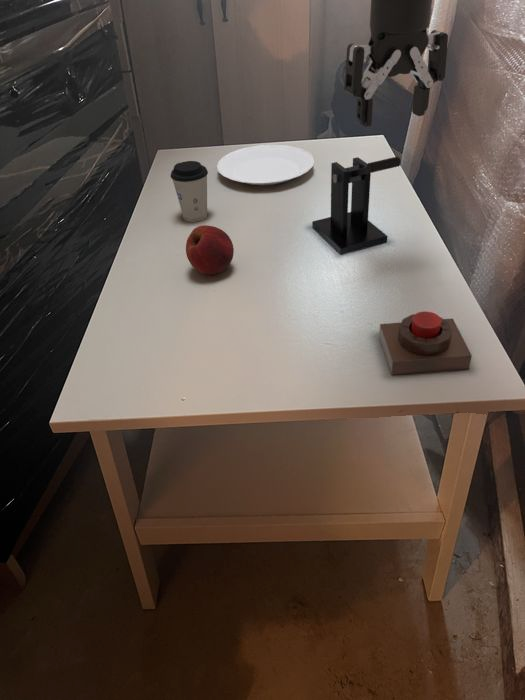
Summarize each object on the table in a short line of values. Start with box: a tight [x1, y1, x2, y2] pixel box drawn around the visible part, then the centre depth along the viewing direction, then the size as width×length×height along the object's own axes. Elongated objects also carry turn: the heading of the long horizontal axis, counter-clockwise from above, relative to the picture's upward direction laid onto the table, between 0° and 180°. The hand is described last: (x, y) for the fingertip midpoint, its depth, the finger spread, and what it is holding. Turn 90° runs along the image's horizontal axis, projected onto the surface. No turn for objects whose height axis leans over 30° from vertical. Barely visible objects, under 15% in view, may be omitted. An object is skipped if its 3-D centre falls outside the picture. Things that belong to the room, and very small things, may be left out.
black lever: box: [344, 156, 402, 184], centre depth 92 cm, size 13×5×2 cm, turn 22°
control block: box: [378, 313, 473, 376], centre depth 77 cm, size 10×8×4 cm
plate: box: [216, 144, 315, 186], centre depth 126 cm, size 21×21×2 cm
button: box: [411, 310, 442, 339], centre depth 75 cm, size 4×4×2 cm
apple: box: [185, 224, 235, 276], centre depth 95 cm, size 7×8×8 cm
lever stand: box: [311, 156, 388, 255], centre depth 100 cm, size 11×9×13 cm
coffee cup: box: [170, 160, 209, 223], centre depth 110 cm, size 7×7×10 cm
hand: (392, 119), depth 83 cm, fingers open, 8 cm apart
